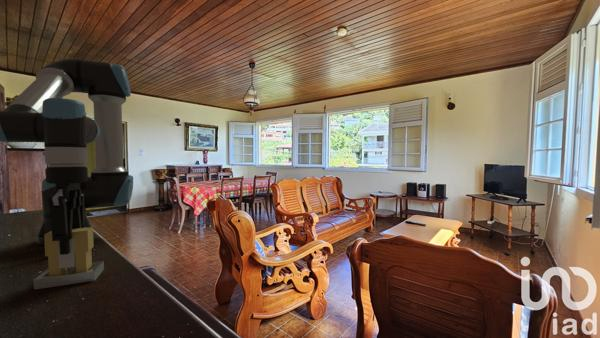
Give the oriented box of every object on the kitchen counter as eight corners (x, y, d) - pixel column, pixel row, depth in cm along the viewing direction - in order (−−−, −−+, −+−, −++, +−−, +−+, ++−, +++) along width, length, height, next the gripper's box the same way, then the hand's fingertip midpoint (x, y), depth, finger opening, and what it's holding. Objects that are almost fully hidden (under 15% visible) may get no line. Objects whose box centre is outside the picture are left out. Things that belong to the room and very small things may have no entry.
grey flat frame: (49, 276, 65) (49, 267, 65) (104, 269, 69) (103, 260, 69) (34, 289, 58) (33, 279, 58) (94, 280, 62) (94, 271, 62)
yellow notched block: (53, 271, 64) (52, 230, 63) (94, 266, 67) (92, 227, 66) (46, 277, 60) (44, 234, 60) (89, 272, 63) (87, 230, 63)
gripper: (63, 165, 69) (67, 254, 70) (25, 167, 53) (31, 281, 54) (98, 164, 72) (101, 250, 73) (71, 166, 56) (76, 274, 57)
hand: (71, 263), depth 63 cm, fingers closed on yellow notched block, 4 cm apart
